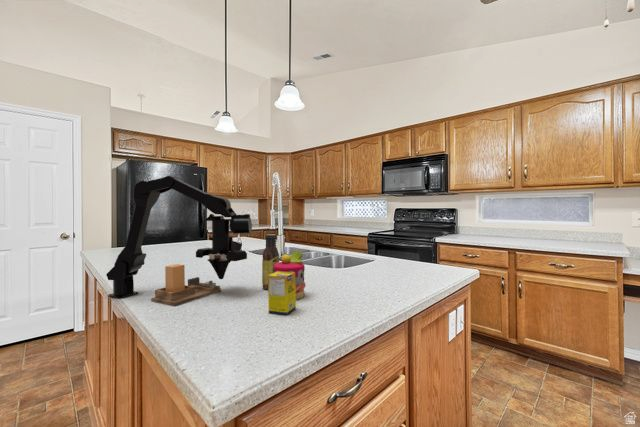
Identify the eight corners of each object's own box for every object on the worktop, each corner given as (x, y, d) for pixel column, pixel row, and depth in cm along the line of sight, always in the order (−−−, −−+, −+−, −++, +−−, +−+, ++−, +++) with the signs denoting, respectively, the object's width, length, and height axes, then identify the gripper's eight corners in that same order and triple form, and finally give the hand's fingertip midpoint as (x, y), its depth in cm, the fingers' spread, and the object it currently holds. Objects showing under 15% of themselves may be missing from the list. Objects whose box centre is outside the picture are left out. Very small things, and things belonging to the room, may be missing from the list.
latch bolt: (202, 288, 107) (202, 280, 107) (207, 287, 109) (207, 279, 109) (210, 290, 105) (210, 282, 105) (215, 288, 108) (215, 280, 107)
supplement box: (296, 308, 89) (295, 272, 89) (287, 315, 83) (287, 276, 83) (277, 306, 91) (277, 270, 91) (268, 313, 85) (267, 274, 85)
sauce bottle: (275, 290, 108) (275, 235, 108) (259, 289, 110) (259, 235, 109) (281, 286, 115) (281, 233, 114) (266, 285, 116) (265, 233, 116)
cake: (292, 303, 94) (292, 255, 94) (266, 298, 100) (266, 252, 100) (311, 295, 103) (310, 251, 103) (286, 290, 109) (286, 249, 108)
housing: (151, 301, 97) (151, 288, 97) (198, 287, 113) (198, 276, 113) (175, 306, 92) (175, 293, 92) (220, 291, 108) (220, 280, 108)
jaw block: (165, 297, 98) (165, 266, 98) (177, 293, 102) (177, 264, 102) (173, 298, 96) (172, 267, 96) (184, 295, 100) (184, 264, 100)
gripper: (257, 233, 107) (257, 277, 107) (218, 231, 116) (218, 272, 116) (235, 235, 97) (235, 284, 98) (194, 233, 106) (194, 278, 106)
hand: (221, 279), depth 105 cm, fingers closed
